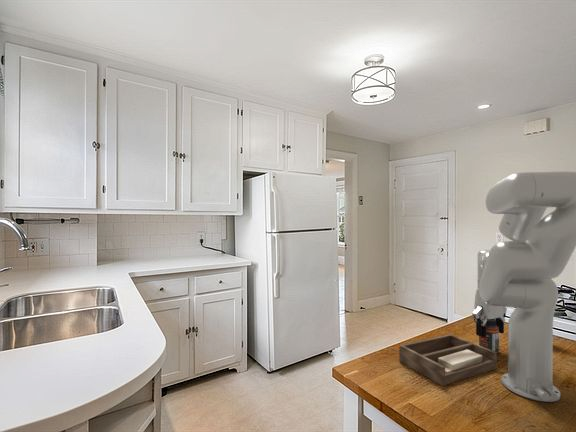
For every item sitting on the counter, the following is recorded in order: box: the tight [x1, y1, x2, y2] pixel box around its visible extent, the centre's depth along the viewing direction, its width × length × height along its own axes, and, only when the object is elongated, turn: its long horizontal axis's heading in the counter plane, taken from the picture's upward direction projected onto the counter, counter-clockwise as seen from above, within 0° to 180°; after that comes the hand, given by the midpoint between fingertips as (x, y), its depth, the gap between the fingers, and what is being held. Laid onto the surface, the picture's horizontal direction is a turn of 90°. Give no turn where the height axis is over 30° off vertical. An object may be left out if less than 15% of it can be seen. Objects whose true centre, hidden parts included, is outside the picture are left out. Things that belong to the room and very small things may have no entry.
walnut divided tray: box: [398, 333, 498, 386], centre depth 96 cm, size 16×24×5 cm, turn 114°
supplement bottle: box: [478, 319, 500, 354], centre depth 106 cm, size 6×6×11 cm
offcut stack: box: [438, 349, 482, 373], centre depth 92 cm, size 5×18×4 cm, turn 116°
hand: (490, 334), depth 106 cm, fingers open, 9 cm apart
